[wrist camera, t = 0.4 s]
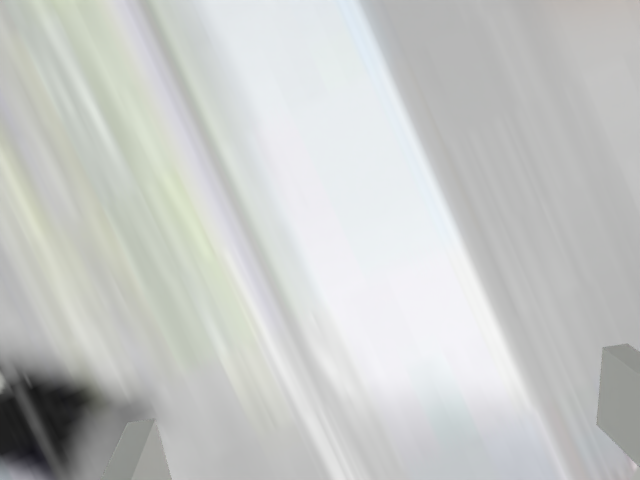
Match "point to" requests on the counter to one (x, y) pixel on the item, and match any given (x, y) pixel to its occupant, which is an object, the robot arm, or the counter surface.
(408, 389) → the counter surface
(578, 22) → the counter surface
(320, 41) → the counter surface
